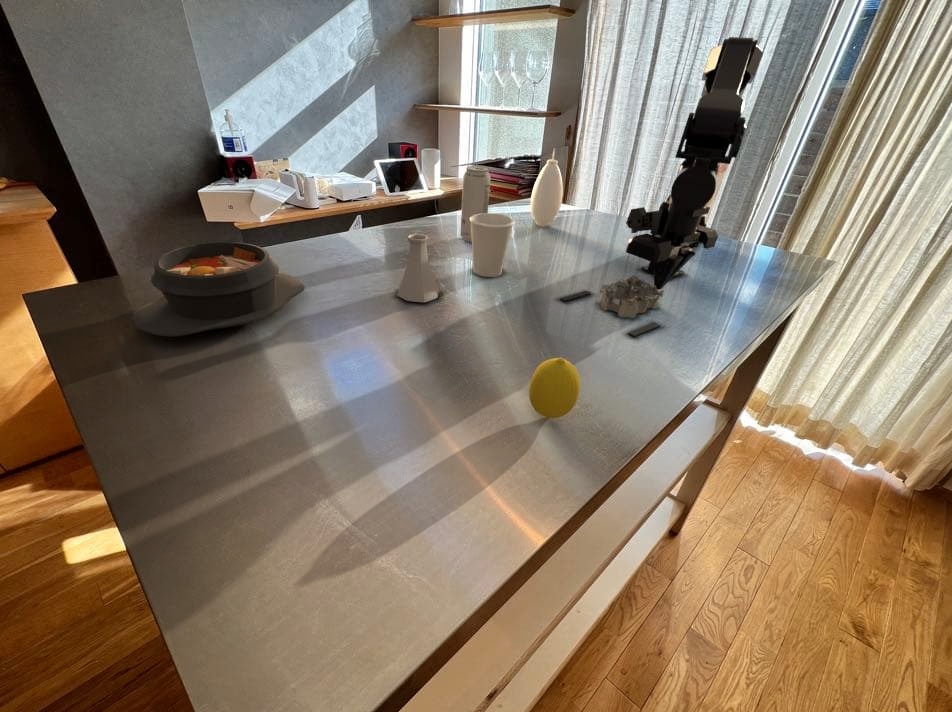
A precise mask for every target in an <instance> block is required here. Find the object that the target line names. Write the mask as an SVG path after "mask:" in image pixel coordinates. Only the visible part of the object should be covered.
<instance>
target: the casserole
mask: <svg viewBox="0 0 952 712" xmlns="http://www.w3.org/2000/svg"><path fill="white" fill-rule="evenodd" d="M278 264H279V263H277V262H276V261H275V260H274V259H273V258H272V257H271V254H270V253H269V252H268V251H267V250H266V249H265V248H263V247H261V246H258V245H255V244H250V243H246V242H245V243H244V242H232V241H231V242H230V241H228V242H227V241H225V242H223V241H222V242H221V241H219V242H218V241H217V242H209V243H208V242H206V243H199V244H193V245H188V246H184V247H180V248H176V249H174V250H171V251H168V252H166V253H164V254H162V255H160V256H159V257H158V258H157V259H156V260H155V261H154V266H153V267H154V268H153V269H154V271H153V272H154V273H153V274H152V275H151V277H150V278H151V279H150V283H151V284H152V286H153V287H154V288H155V289H157V290H158V291H160V292H161V293H162V295H163V296H161V297H159V298H158V299H156V300H153V301H151V302H149V303H147V304H144V305H142V306H141V307H139V308H137V309H135V311H134V312H133V313H132V317H131V320H132V321H131V322H132V324H133V325H134V326H135V327H137V328H138V329H139V330H141V331H143V332H145V333H147V334H152V335H156V336H163V337H172V338H174V337H184V336H190V335H194V334H199V333H202V332H205V331H210V330H219V329H225V328H232V327H239V326H243V325H247V324H251V323H255V322H257V321H261V320H263V319H266V318H268V317H270V316H272V315H274V314H275V313H277V312H278V311H280V310H282V309H283V308H284V307H285V306H286V305H287V304H288V303H289V302H290V301H291V300H292V299H293V298H295V297H297V296H298V295H300V294H301V293H303V292H304V291H305V289H306V286H305V284H304V282H303V281H302V280H300V279H298V278H296V277H294V276H293V275H289V274H286V273H283V272H280V266H279V265H278Z"/></svg>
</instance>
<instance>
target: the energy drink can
mask: <svg viewBox="0 0 952 712" xmlns="http://www.w3.org/2000/svg"><path fill="white" fill-rule="evenodd" d="M491 178H492V177H491V175H490V172H489V168H488V167H486V166H480V165H478V166H477V165H476V166H475V165H471V166H467V167H466V170H465V172H464V174H463V176H462V192H461V211H460V212H461V213H460V229H459V230H460V233H459V235H460V237H461V239H462V241H464V242H467V243H472V233H471V221H470V217H472V216H473V215H476V214H482V213H489V202H490V201H489V200H490V192H491V191H490V190H491V180H492V179H491Z"/></svg>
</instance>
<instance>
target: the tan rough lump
mask: <svg viewBox="0 0 952 712" xmlns="http://www.w3.org/2000/svg"><path fill="white" fill-rule="evenodd" d="M599 293H600V294H601V298H600V302H599V304H600V305H601V308H602V309H603V310H604V311H608V310H609V311H613V312H615V313H617V316H618V317H620V318H630V319H634V318H636V316H637V314H638V313H639V314H644V313H646V312H647V309H653V310H654V309H656V308H657V305H658V302H659V299H660V298H662V297H663V295H664V293H665V291H664V290H663V289H661V290H657V289H656V286H654V285H653V284H651V283H649V282H647V281H645V280H644V279H643V280H641V279H640V278H638V277H637V276H636V275H635V274H632V275H631V276H630V277H627V278H626V279H622V280H621V279H619V280H617V281H615V282H612V283H610V284H603V285H602V286H601V288H600V291H599Z"/></svg>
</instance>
